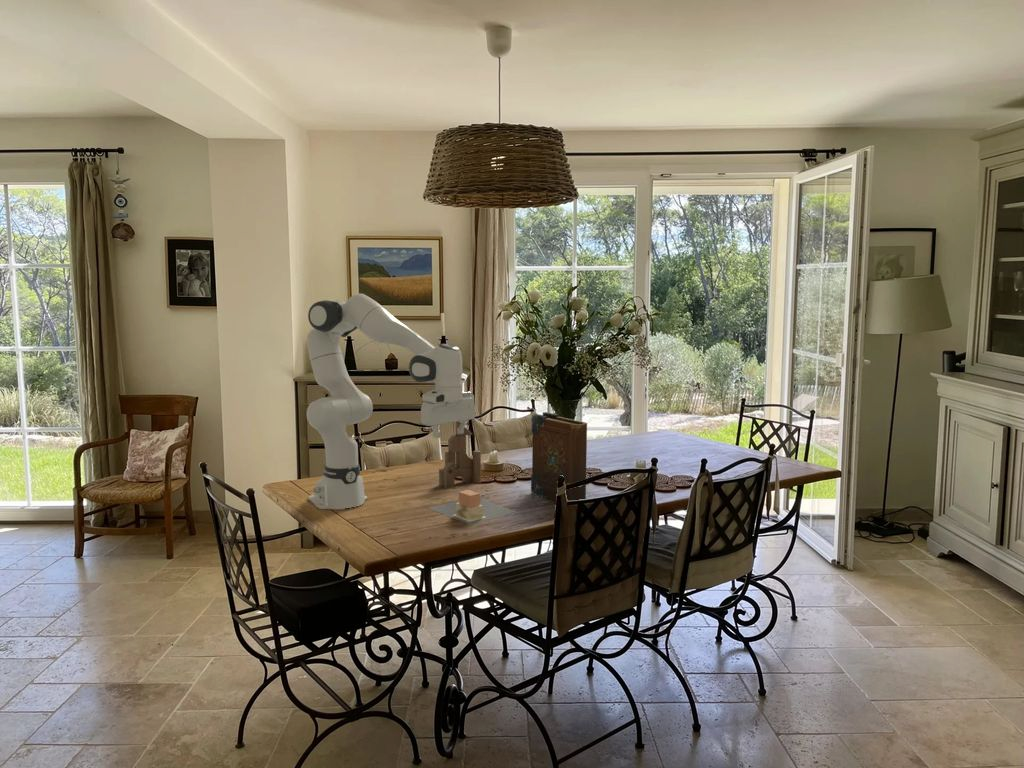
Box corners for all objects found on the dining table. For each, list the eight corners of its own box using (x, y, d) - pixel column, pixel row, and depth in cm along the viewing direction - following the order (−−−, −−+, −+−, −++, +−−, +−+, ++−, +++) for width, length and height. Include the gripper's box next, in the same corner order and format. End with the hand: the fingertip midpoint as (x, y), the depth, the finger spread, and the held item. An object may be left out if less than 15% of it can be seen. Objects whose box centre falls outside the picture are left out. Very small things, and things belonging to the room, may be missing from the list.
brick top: (458, 503, 247) (458, 491, 246) (468, 501, 250) (468, 489, 249) (470, 507, 242) (470, 495, 242) (479, 505, 245) (479, 493, 244)
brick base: (455, 514, 248) (455, 503, 247) (467, 511, 251) (467, 500, 251) (470, 520, 242) (470, 508, 241) (482, 517, 245) (482, 505, 245)
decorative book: (530, 493, 278) (531, 414, 274) (545, 490, 283) (545, 412, 279) (574, 508, 260) (575, 423, 256) (589, 504, 265) (590, 421, 261)
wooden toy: (446, 489, 284) (445, 424, 280) (439, 484, 290) (438, 421, 286) (482, 483, 292) (482, 420, 288) (474, 479, 297) (474, 417, 294)
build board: (428, 512, 256) (427, 507, 255) (473, 500, 269) (473, 496, 269) (469, 529, 239) (469, 524, 238) (516, 516, 252) (516, 511, 252)
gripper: (468, 389, 253) (467, 429, 255) (417, 395, 240) (418, 438, 242) (479, 392, 248) (479, 433, 250) (429, 398, 235) (429, 441, 237)
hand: (448, 435), depth 246 cm, fingers open, 8 cm apart
